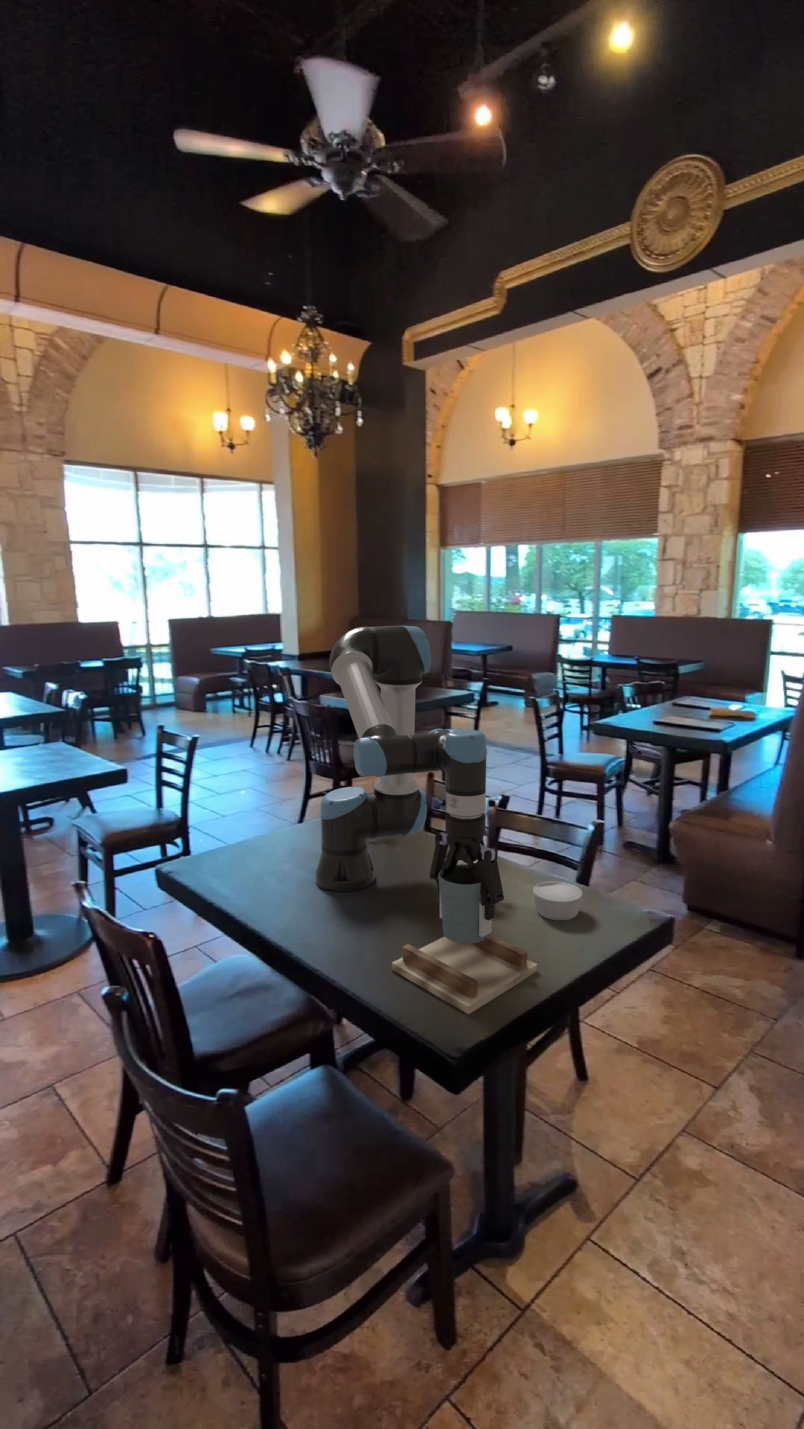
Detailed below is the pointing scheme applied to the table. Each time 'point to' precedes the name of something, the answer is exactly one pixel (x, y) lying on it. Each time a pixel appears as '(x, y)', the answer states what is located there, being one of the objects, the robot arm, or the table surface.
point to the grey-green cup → (460, 905)
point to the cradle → (465, 970)
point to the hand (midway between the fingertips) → (465, 924)
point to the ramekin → (557, 900)
